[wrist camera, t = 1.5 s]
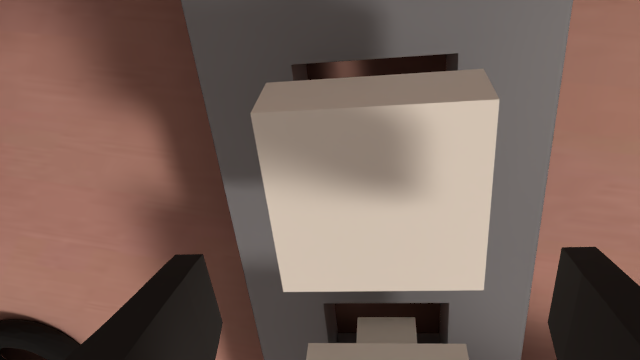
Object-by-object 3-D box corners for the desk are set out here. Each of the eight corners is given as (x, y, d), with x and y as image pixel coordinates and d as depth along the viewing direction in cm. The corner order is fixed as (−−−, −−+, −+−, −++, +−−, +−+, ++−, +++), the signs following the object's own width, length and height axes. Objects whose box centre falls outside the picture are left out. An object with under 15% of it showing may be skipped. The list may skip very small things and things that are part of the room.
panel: (497, 380, 27) (509, 435, 24) (288, 377, 28) (280, 428, 26) (551, -99, 15) (586, -92, 13) (200, -63, 17) (169, -50, 14)
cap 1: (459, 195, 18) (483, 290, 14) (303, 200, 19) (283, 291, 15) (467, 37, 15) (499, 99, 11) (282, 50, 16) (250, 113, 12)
